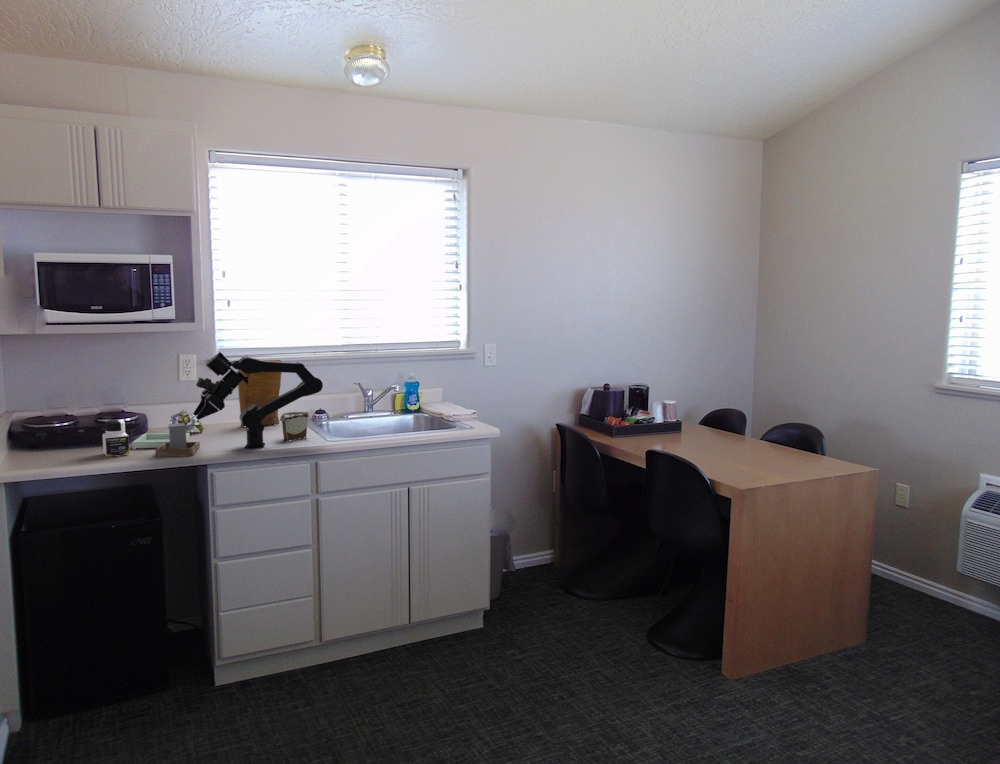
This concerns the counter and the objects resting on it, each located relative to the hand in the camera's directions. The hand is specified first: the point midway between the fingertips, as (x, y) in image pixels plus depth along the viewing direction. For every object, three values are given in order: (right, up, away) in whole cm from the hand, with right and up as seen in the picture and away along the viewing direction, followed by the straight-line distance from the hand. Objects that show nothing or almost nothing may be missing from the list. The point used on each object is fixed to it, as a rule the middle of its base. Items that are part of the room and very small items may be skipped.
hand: (195, 416), depth 259 cm
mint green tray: (-17, -11, +12) cm, 24 cm away
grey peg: (-6, -13, -1) cm, 14 cm away
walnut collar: (-6, -13, -1) cm, 14 cm away
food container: (+27, -10, +26) cm, 39 cm away
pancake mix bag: (+6, -6, +52) cm, 53 cm away
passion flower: (-17, -9, +32) cm, 38 cm away
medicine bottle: (-25, -13, -6) cm, 29 cm away
